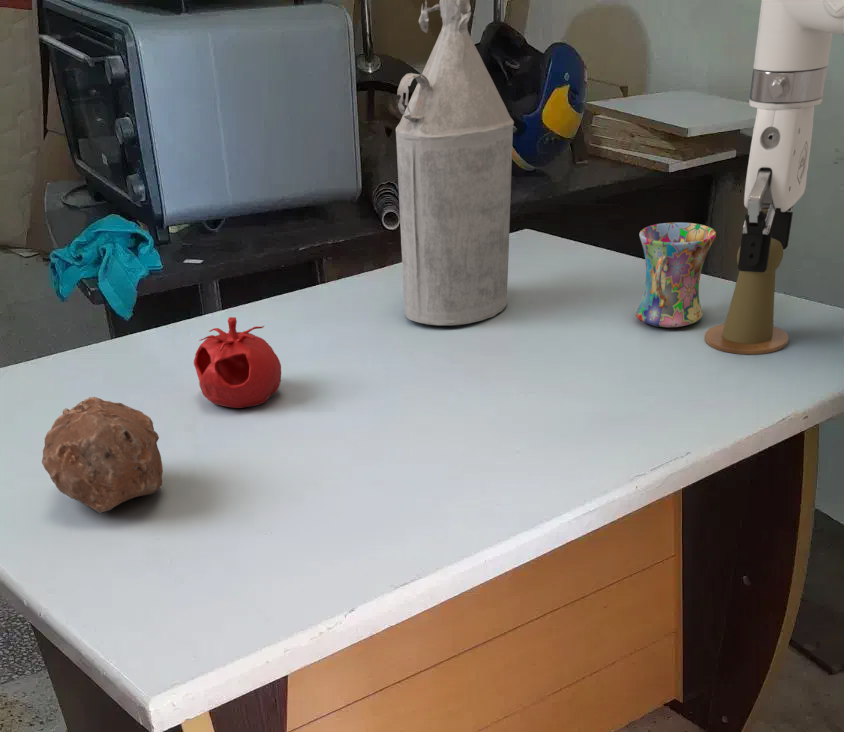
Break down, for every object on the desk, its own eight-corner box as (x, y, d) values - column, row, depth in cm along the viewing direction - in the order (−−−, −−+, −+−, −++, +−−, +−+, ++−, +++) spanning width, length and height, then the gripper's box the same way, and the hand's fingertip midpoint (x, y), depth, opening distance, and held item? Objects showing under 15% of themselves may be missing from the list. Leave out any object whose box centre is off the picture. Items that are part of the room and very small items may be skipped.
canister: (379, 321, 138) (351, -50, 112) (460, 286, 147) (451, -63, 121) (451, 339, 131) (439, -51, 105) (530, 301, 141) (538, -64, 114)
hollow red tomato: (240, 376, 125) (226, 297, 119) (301, 391, 120) (291, 310, 114) (182, 404, 119) (165, 323, 113) (244, 422, 114) (230, 338, 108)
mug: (644, 305, 137) (652, 219, 130) (712, 312, 134) (724, 225, 127) (615, 335, 129) (622, 245, 122) (687, 343, 126) (698, 252, 119)
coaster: (796, 331, 127) (796, 327, 127) (776, 359, 121) (777, 354, 120) (717, 322, 131) (718, 318, 131) (694, 348, 125) (694, 344, 124)
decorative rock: (177, 517, 98) (154, 417, 92) (59, 538, 96) (26, 438, 89) (164, 461, 108) (142, 367, 101) (56, 480, 106) (27, 385, 99)
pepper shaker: (763, 346, 123) (780, 249, 115) (715, 339, 125) (728, 243, 118) (779, 330, 126) (796, 235, 119) (731, 324, 129) (745, 230, 122)
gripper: (804, 101, 101) (777, 283, 112) (840, 75, 112) (812, 242, 123) (729, 101, 104) (710, 278, 115) (771, 75, 115) (750, 238, 127)
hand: (762, 259), depth 119 cm, fingers open, 9 cm apart
